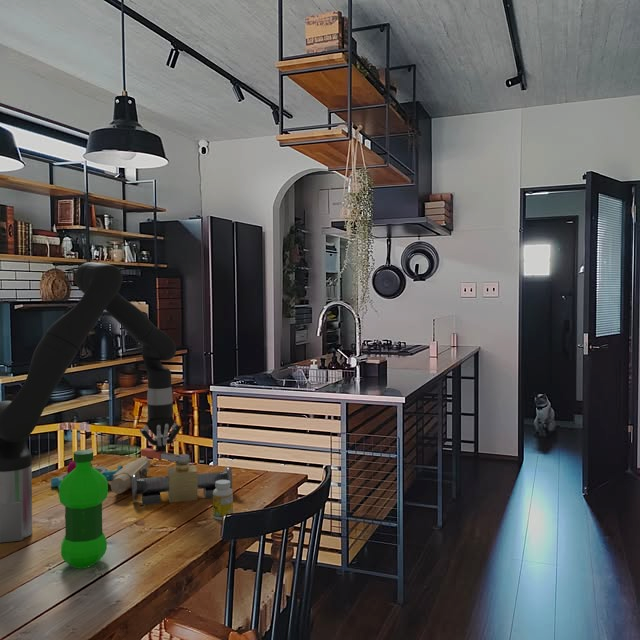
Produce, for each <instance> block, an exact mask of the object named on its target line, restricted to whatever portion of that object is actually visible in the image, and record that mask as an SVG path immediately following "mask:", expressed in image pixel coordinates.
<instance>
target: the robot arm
mask: <svg viewBox="0 0 640 640" xmlns="http://www.w3.org/2000/svg"><path fill="white" fill-rule="evenodd" d="M122 275H123V274H122V272H121V270H120V269H119V267H117V266H115V265H112V264H109V263H103V262H94V261H93V262H92V261H89V262H85V263H83V264H81V265H79V267H78V268H77V270H76V272H75V275H74V279H75V284H76V286H77V288H78V290H79V291H80V292H82V293H83V295H82V297H81V298H80V300H79V301H78V302H77V303H76V305H75V306H73V308H71V309H70V310H68V312H66V313H65V314H63V315H62V316H61V317H59V318H58V319H56V321H54V322H53V323H52V324H51V325H50V326H49V327H48V329H47V330H46V331H45V333H44V334H43V336H42V338H41V339H40V340H39V342H38V343H37V345H36V347H35V349H34V351H33V353H32V358H31V361H30V365H29V369H28V373H27V376H26V378H25V381H24V382H23V384H22V386H21V388H20V389H19V390H18V392H17V393H16V394H15V397H14V398H13V399H12V400H2V401H0V543H11V542H17V541H18V542H19V541H24V540H25V539H26V538H27V537H30V536H31V535H32V534H33V482H32V481H33V477H32V476H33V473H32V472H33V471H32V470H33V469H32V468H33V467H32V464H33V462H32V461H33V456H32V453H31V450H29V447H28V445H27V440H26V438H27V437H29V436H31V434H32V433H33V431H34V430H35V428H36V426H37V425H38V422H39V420H40V418H41V417H42V413H43V412H44V410H45V407H46V406H47V403H48V402H49V399H50V398H51V395H52V394H53V392H54V391H55V389H56V388H57V386H58V385H59V383H60V381H61V380H62V378H63V376H64V375H65V373H66V372H67V370H68V368H69V366H70V365H72V362H73V360H74V359H75V357H76V355H78V352H79V351H80V350H81V347H82V345H83V344H84V341H85V340H86V338H87V337H88V336H89V334H90V332H91V331H92V330H93V327H94V326H95V325H96V323H97V321H98V320H99V318H100V317H101V315H102V314H103V313H104V312H107V313H108V314H109V315H110V316H112V317H113V319H115V320H116V322H117V323H119V325H121V326H122V327H123V329H124V330H125V331H126V332H127V333H128V334H129V335H130V336H131V337H132V338H133V339H134V340H135V341H136V342H137V343H139V344H142V345H141V356H142V360H143V364H144V367H145V370H146V374H147V395H146V396H147V397H146V401H147V421H146V423H145V424H146V425H145V426H144V427H143V428H140V429H139V433H140V434H141V435H142V436H143V437H144V438H145V439H146V440H147V442H148V443H149V444H151V445H152V446H155V450H160V451H165V452H166V453H167V445H168V444H169V443H172V442H173V441H174V439H175V438H176V436H177V435H178V434H179V432H180V431H181V429H182V426H181V425H180V424H178V423H176V422H175V419H174V415H173V414H174V409H173V406H174V402H173V390H172V389H173V388H172V371H171V370H170V369H169V368H168V367H166V366H164V365H162V362H163V361H165V362H166V361H170V360H172V359H173V358H174V357H175V356H176V354H177V346H176V343H175V341H174V340H173V339H172V337H170V335H168V334H167V333H166V332H164V331H163V330H161V329H160V328H159V327H156V326H155V325H154V323H153V322H152V321H151V320H150V319H149V317H147V315H146V314H145V313H144V312H143V311H142V310H141V309H139V308H138V307H137V306H136V305H134V304H132V303H131V301H128V300H127V299H126V298H124V296H122V295H121V294H120V293H119V291H120V289H121V287H122V284H123V276H122ZM170 430H171V431H170ZM150 432H151V433H152V434H153V437H154V438H152V436H151V435H150Z"/></svg>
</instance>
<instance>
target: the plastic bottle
mask: <svg viewBox="0 0 640 640" xmlns="http://www.w3.org/2000/svg"><path fill="white" fill-rule="evenodd" d="M72 454H73V460H74V462H76V468H75V469H74V470H72V471H71V472H70V473H69V474H68V475H67V476H66V477H65V478H64V479H63V480H62V481H61V483H60V486H59V489H58V498H59V499H58V500H59V502H60V504H61V505H63V506H64V507H65V511H64V512H65V513H64V520H65V528H64V529H65V530H64V531H65V535H64V537H63V539H62V542H61V547H60V555H61V557H62V560H63V561H64V562H65V563H67V564H68V565H69V566H71V567H72V566H74V567H76V568H75V569H86V568H85V567H87V568H89V567H88V566H91V567H93V566H94V565H95V563H96V564H97V563H98V562H99V560H101V558H103V557H104V556H105V555H106V551H107V549H108V548H107V547H108V544H107V538H106V535H105V533H104V532H103V502H104V501H105V500H106V499H107V498H108V493H109V484H108V482H107V480H106V478H105V476H104V475H103V474H101V473H100V472H99V471H97V470H96V469H94V468H93V467H91V463H92V461H94V450H92V449H80V450H76V451H73V453H72ZM93 564H94V565H93ZM92 565H93V566H92ZM74 567H73V568H74Z"/></svg>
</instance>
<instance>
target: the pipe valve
mask: <svg viewBox="0 0 640 640" xmlns="http://www.w3.org/2000/svg"><path fill="white" fill-rule="evenodd" d="M175 465H176V466H168V467H167V476H166V475H165V476H154V477H142V478H139V479H137V474H132V488H131V498H132V500H137V499H138V497H137V496H138V495H141V503H142V504H145V505H154V504H155V505H157V504H161V493H167V497H168V498H167V499H168V502H169V504H171V503H178V502H179V503H180V502H181V501H182V502H191V501H192V500H193V501H198V490H200V489H201V490H203V491H202V492H203V495H204V497H205V499H206V500H209V498H210V499H213V491H214V490H215V489H216V487H215V482H216V481H218V480H229V481H230V487H229V488H231V489H232V490H233V473H232V468H231V467H230V466H226V467H224V471H217V472H207V473H206V472H203V473H198V469H197V467H196V465H195V464H194V465H193V464H192V465H190V462H189V463H188V464H176V463H175ZM142 504H141V505H142Z"/></svg>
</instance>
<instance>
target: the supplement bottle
mask: <svg viewBox="0 0 640 640" xmlns="http://www.w3.org/2000/svg"><path fill="white" fill-rule="evenodd" d="M215 487H216V489H215V490H214V491H213V498H212V517H213V519H215V520H219V521H223V520H222V517H223V516H224V515H225V514H230V513H233V514H234V502H233V501H234V492H233V488H232V489H231V488H229V487H230V481H229V480H218V481H216V482H215Z"/></svg>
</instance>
